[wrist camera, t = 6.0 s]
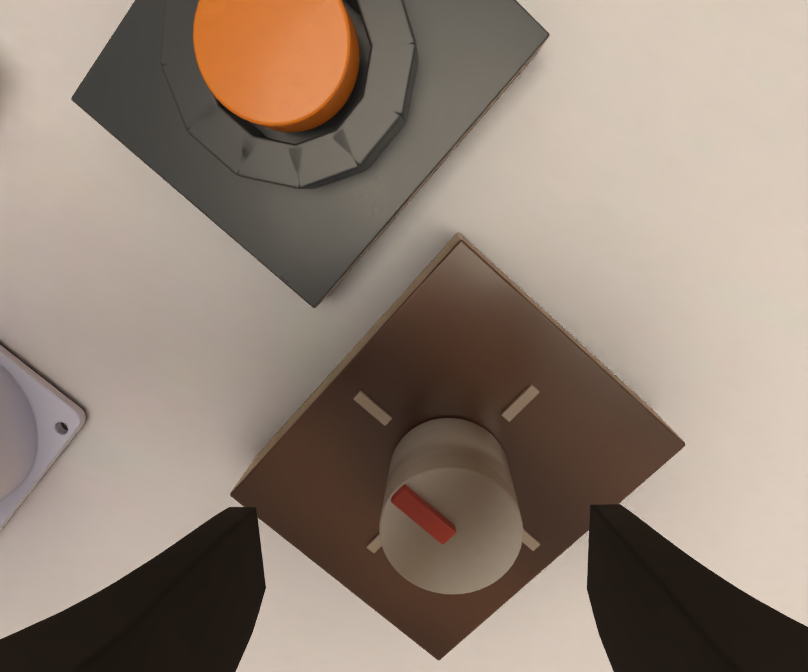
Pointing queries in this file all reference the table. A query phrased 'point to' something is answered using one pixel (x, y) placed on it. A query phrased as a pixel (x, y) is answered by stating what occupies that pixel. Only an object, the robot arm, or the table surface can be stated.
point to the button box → (319, 147)
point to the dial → (450, 508)
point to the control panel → (463, 399)
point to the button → (277, 59)
